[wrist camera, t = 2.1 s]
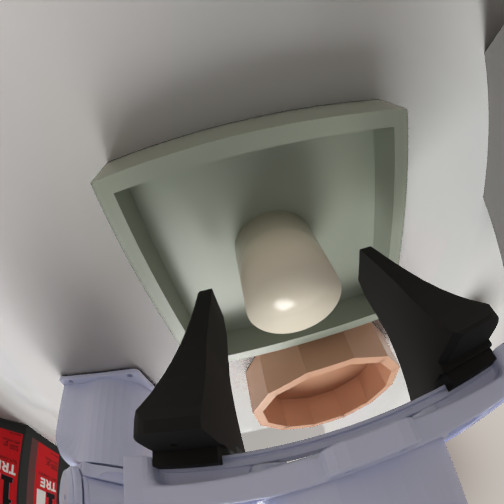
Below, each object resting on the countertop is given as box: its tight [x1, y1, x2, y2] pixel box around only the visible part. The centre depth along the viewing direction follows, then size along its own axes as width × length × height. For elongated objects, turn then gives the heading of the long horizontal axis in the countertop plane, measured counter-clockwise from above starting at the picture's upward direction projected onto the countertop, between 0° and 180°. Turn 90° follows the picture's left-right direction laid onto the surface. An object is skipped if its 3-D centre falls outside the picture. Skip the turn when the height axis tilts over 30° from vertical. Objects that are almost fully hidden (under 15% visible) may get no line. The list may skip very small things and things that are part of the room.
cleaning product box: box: [0, 418, 70, 504], centre depth 27 cm, size 16×9×20 cm, turn 179°
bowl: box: [246, 322, 400, 430], centre depth 24 cm, size 13×13×4 cm
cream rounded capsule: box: [235, 211, 342, 334], centre depth 15 cm, size 4×4×4 cm
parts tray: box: [91, 99, 408, 362], centre depth 16 cm, size 14×14×3 cm
